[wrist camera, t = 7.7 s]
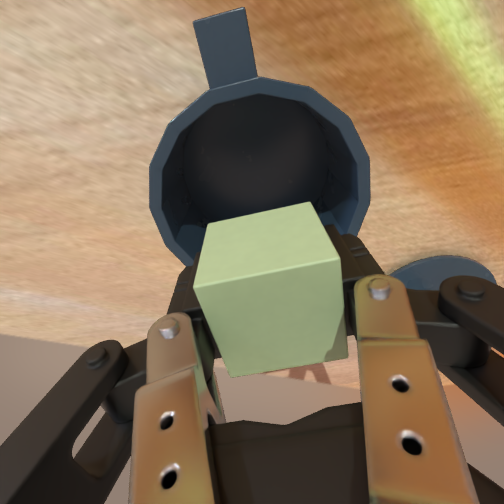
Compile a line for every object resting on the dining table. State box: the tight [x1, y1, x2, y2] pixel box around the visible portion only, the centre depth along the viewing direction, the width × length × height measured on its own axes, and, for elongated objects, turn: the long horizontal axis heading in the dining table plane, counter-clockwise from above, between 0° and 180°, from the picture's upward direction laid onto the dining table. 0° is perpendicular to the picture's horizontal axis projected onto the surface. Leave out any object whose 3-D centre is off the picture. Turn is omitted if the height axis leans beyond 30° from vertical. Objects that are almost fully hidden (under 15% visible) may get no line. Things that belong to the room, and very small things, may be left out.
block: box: [193, 202, 348, 378], centre depth 11 cm, size 4×4×4 cm
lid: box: [389, 255, 497, 291], centre depth 28 cm, size 13×13×7 cm
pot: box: [149, 7, 370, 267], centre depth 20 cm, size 12×18×8 cm
